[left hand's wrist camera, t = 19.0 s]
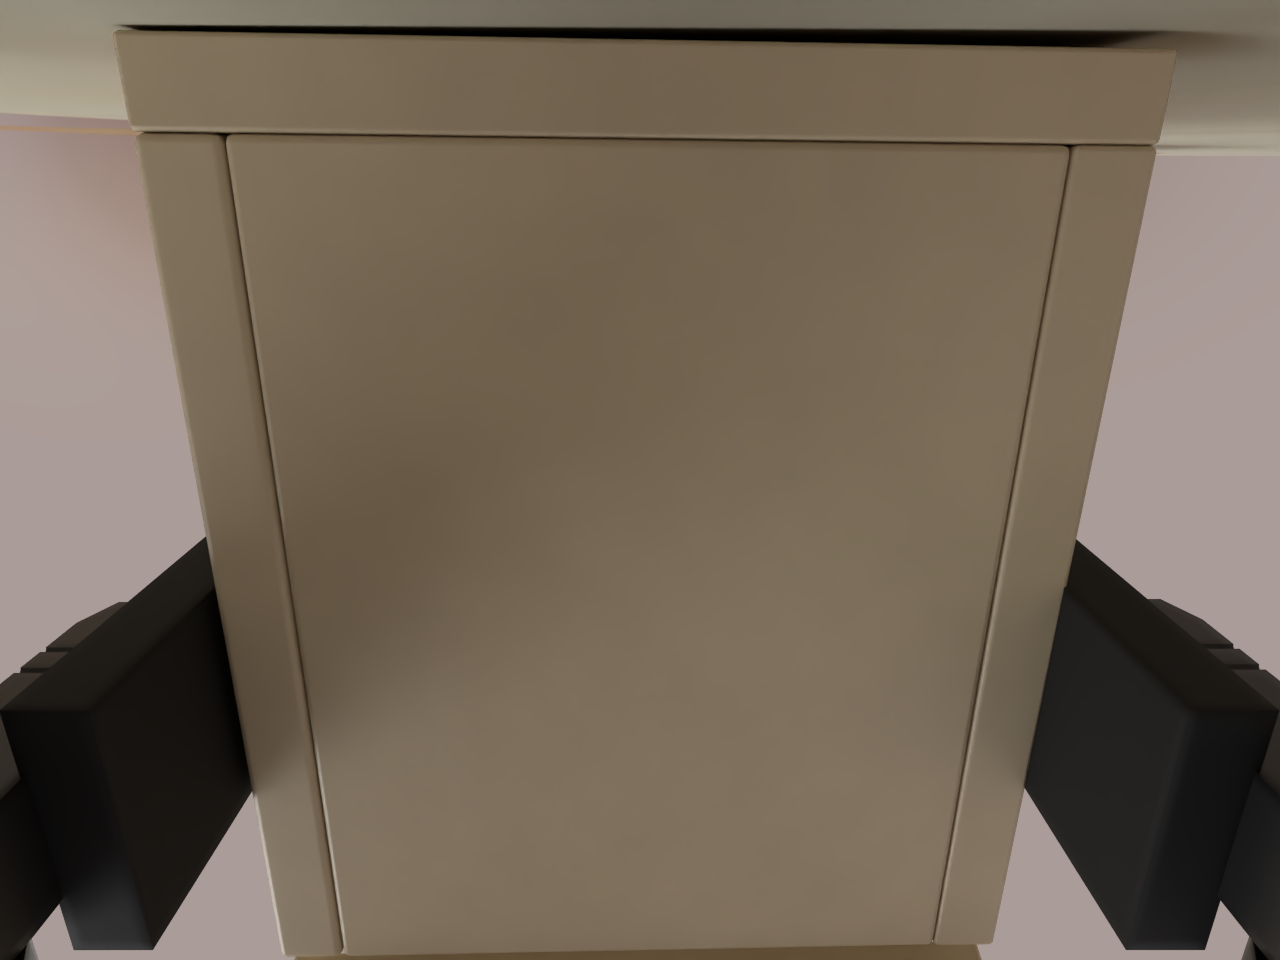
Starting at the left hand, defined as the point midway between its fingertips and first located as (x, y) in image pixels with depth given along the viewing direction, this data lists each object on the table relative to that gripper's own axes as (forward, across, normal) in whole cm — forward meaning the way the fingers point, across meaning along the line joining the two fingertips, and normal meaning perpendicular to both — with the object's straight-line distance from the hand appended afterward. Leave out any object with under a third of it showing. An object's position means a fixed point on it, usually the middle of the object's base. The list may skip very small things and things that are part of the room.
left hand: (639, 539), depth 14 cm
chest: (+2, 0, -7) cm, 7 cm away
